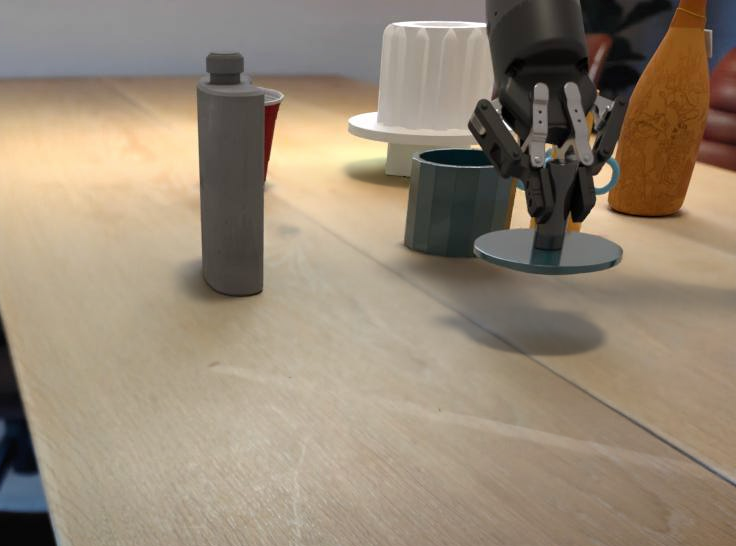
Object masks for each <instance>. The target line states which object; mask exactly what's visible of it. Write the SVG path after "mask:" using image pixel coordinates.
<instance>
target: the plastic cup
mask: <svg viewBox="0 0 736 546" xmlns="http://www.w3.org/2000/svg"><path fill="white" fill-rule="evenodd" d="M257 87H258V88H260V89H262V90H263V91H264V92H265V121H264V186H265V185H266V181H267V174H268V169H269V162H270V160H271V154H272V153H271V152H272V147H273V140H274V135H275V128H276V121H277V119H278V115H279V114H278V113H279V110H280V106H281V104H282V102H283V100H284V99H285V95H284V94H283V93H282V92H281V91H278V90H275V89H271V88H265V87H260V86H257Z"/></svg>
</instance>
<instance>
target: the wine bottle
mask: <svg viewBox="0 0 736 546" xmlns="http://www.w3.org/2000/svg"><path fill="white" fill-rule="evenodd" d="M707 2H708V1H707V0H680V1H679V3H678V7H677V8H676V9H675V13H674V15H673V17H672V20H671V21H670V23H669V28H668V30H667V32H666V34H665V36H664V37H663V39H662V40H661V42H660V44H659V46H658V47H657V49H656V50H655V52H654V54H653V56H652V57H651V59H649V62H648V63H647V65H646V67H645V68H644V70H643V72H642V73H641V75H640V76H639V79H638V81H637V83H636V85H635V87H634V89H633V91H632V93H631V96H630V97H629V99H628V100H629V106H628V109H627V112H626V115H625V118H624V121H623V124H622V127H621V130H620V134H619V137H618V140H617V146H616V152H615V157H614V159H615V160H616V161H617V163H618V165H619V168H620V175H619V179H618V181H617V183H616V185H615V186H614V187H613V188H612V189H611V190H610V191H609V192H608V194H607V203H608V205H609V207H610V208H611V209H613V210H615V211H617V212H620V213H623V214H628V215H634V216H644V217H663V216H668V215H672V214H675V213H677V212H678V211H680V210H681V209H682V207H683V205H684V202H685V199H686V196H687V193H688V189H689V186H690V182H691V180H692V176H693V173H694V170H695V165H696V162H697V159H698V156H699V151H700V149H701V144H702V141H703V138H704V133H705V129H706V125H707V121H708V117H709V111H710V110H709V109H710V97H711V92H710V91H711V84H710V69H709V63H708V62H709V61H708V58H711V59H712V58H713V30H712V29H706V24H707V20H708V18H707V17H706V8H707ZM611 172H612V173H611V177H610V180H611V179H612V175H613V171H611Z"/></svg>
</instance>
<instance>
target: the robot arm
mask: <svg viewBox="0 0 736 546" xmlns="http://www.w3.org/2000/svg"><path fill="white" fill-rule="evenodd" d="M484 2H485V4H484V5H485V6H484V7H485V8H484V13H485V14H484V15H485V17H484V18H485V23H486V34H487V37H488V40H489V46H490V53H491V60H492V66H493V73H494V86H495V90H496V91H495V92H496V96H495V98H494V99H491V101H488V100H487V99H481V100H479V101H478V103H477V105H476V107H475V109H474V111H473V114H472V116H471V118H470V120H469V122H468V129H469V130H470V132H471V133H472V135H473V136H474V138H475V139H476V141H477V142H478V144H479V145H478V146H479V147H480V149H482V150H483V151H484V153H485V154H486V156H487V157H488V159H489V160H490V162H491V163H492V165H493V166H494V168H495V170H496V171H497V173H498V174H499V176H500V177H501V178H503V179H508V178H510V177H511V176H512V177H515V178H518V179H520V181H521V182H522V183H523V185H524V190H525V191H524V197H525V203H526V209H527V213H528V215H529V217H530V218H531V217H534V218H535V223H536V224H546V222H547V221H548V220H549V218H550V217H551V215H552V214H553V211H554V202H553V196H552V189H551V183H550V177H549V170H548V168H543V165H544V164H545V152H546V144H547V145H548V144H549V145H551V146H552V145H554V148H555V151H556V155H557V158H558V159H570V160H575V161H578V162H579V167H578V173H577V178H576V183H575V188H574V194H573V199H572V204H571V209H570V211H571V217H572V222H573V223H581V222H582V223H583V222H584V221H585V220H586V218H587V217H589V215H590V213H591V212H592V210H593V209H594V207H595V206H596V202H597V195H596V193H595V189H594V188H596V187H595V182H594V177H596V176H598V175H599V174H600V172H601V171H602V170H603V167H604V166H605V165H606V164H607V163H606V162H607V160H609V159H610V157H613V155H614V152H615V149H616V147H617V146H616V145H617V144H618V141H619V137H620V132H621V128H622V124H623V121H624V118H625V115H626V112H627V109H628V106H629V100H630V99H629V98H628V97H627V96H626V95H618V96H616V97H615V99H614V100H611V99H610V98H607V97H604V96H601V95H600V94H599V95H597V90H598V89H597V86H596V85H595V83H594V82H593V81H592V79H591V77H590V73H589V65H590V64H589V63H590V62H589V61H590V59H589V50H588V49H589V48H588V44H587V38H586V33H585V26H584V19H583V14H582V6H581V2H580V0H485V1H484ZM589 112H591V113H592V114H593V116H594V121H593V125H594V126H593V129H594V130H595V131H597V133H596V137H595V139H594V142H593V144H592V147H591V144H590V141H589V140H588V136H589V127H588V124H587V121H586V116H587V115H588V113H589ZM502 120H503V121H504V122H505V123H506V124H507V125H508V126H509V127H510V128H511V129H512V130H513V131H514V132H515V133H516V136H517V137H516V138H517V139H515V137H513V136H512V134H511V133H510V131H509V130H508V128H507V127H506V125H505V124H504V122H503V121H502Z"/></svg>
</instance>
